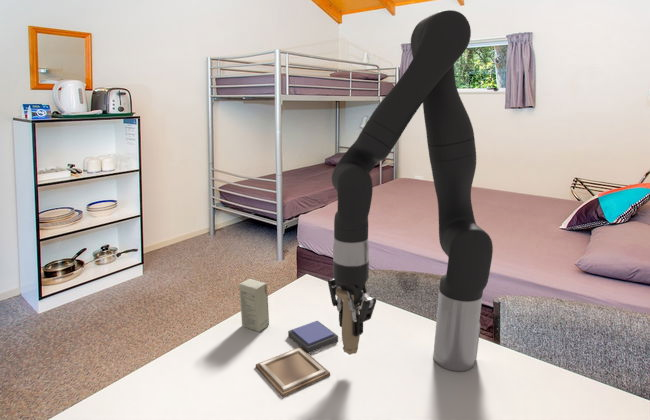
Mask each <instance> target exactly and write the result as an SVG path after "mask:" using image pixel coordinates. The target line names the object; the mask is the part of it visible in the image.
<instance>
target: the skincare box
mask: <svg viewBox="0 0 650 420" xmlns="http://www.w3.org/2000/svg"><path fill="white" fill-rule="evenodd" d="M238 287H239V298H240V299H239V300H240V313H241V315H240V316H241V325H242V327H245V328H247V329H250V330H252V331H256V332H259V333H260V332H261V331H262V330H264V329H266V328H267V327H268V326H269V325H270V315H269V312H270V311H269V295H268V283H267V282H264V281H262V280H257V279H254V278H248V279H246V280H244V281H242V282H240V283H238Z"/></svg>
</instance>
